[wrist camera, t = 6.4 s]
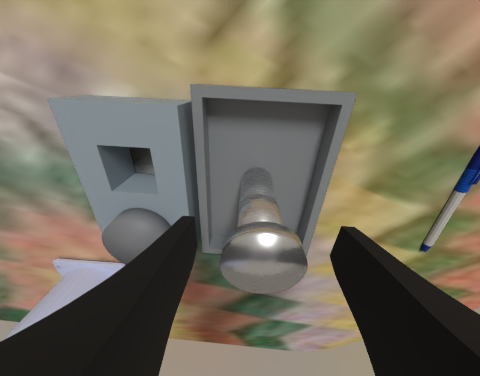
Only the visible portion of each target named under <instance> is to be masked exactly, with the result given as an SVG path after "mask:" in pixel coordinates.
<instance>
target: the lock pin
mask: <svg viewBox="0 0 480 376" xmlns="http://www.w3.org/2000/svg"><path fill="white" fill-rule="evenodd" d="M220 269H221V272H222V274H223V276H224V278H225V279H226V280H227V281H228V282H229V283H230V284H232V285H233V286H235V287H236V288H238V289H241V290H243V291H247V292H251V293H258V294H270V293H276V292H280V291H284V290H286V289H289V288H291V287H292V286H294V285H295V284H297V283H298V282H299V281H300V280H301V279H302V278H303V276H304V275H305V273H306V270H307V258H306V255H305V252H304V249H303V246H302V243H301V241H300V239H299V237H298V236H297V235H296V233H294V232H293V231H292V230H291V229H289V228H288V227H286V226H283V223H282V219H281V214H280V210H279V206H278V202H277V198H276V193H275V189H274V185H273V181H272V177H271V175H270V173H269V172H268V171H267V170H265V169H263V168H258V167H256V168H251V169H249V170H247V171H246V172H245V173H244V174H243V176H242V179H241V190H240V202H239V214H238V226H237V228H236V229H235V230H233V231H232V232H231V233H230V234H229V235H228V236H227V238H226V239H225V241H224V243H223V247H222V253H221V260H220Z"/></svg>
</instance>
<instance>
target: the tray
mask: <svg viewBox="0 0 480 376" xmlns="http://www.w3.org/2000/svg"><path fill="white" fill-rule="evenodd" d="M190 87H191V101H192V115H193V129H194V142H195V156H196V170H197V184H198V198H199V212H200V225H201V239H202V253H214V254H221V253H222V247H223V243H224V241H225V239H226V238H227V236H228V235H229V234H230V233H231V232H232V231H233V230H235V229H236V228H237V226H238V214H239V202H240V190H241V179H242V176H243V174H244V173H245V172H246V171H247V170H249V169H251V168H256V167H258V168H263V169H265V170H267V171H268V172H269V173H270V175H271V177H272V181H273V185H274V189H275V193H276V198H277V202H278V206H279V210H280V214H281V219H282V223H283V226H286V227H288V228H289V229H291V230H292V231H293V232H294V233H296V235H297V236H298V237H299V239H300V241H301V243H302V246H303V249H304V252H305V255H306V256H307V253H308V249H309V246H310V243H311V240H312V237H313V233H314V230H315V227H316V224H317V220H318V217H319V214H320V211H321V208H322V204H323V201H324V198H325V195H326V192H327V188H328V185H329V182H330V179H331V176H332V172H333V169H334V166H335V163H336V160H337V156H338V153H339V150H340V147H341V144H342V140H343V137H344V134H345V131H346V127H347V124H348V121H349V118H350V115H351V111H352V108H353V105H354V102H355V99H356V95H357V93H349V92H337V91H318V90H299V89H280V88H262V87H243V86H224V85H205V84H190Z"/></svg>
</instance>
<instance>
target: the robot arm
mask: <svg viewBox="0 0 480 376" xmlns="http://www.w3.org/2000/svg"><path fill="white" fill-rule="evenodd" d="M196 251H197V235H196V224H195V216H182V217H181V218H179V219H178V220H177V221H176V222H175V223H174V224H173V225H172V226H171V227H170V228H169V229H168V230H167V231H165V232H164V233H163V234H162V235H161V236H160V237H159V238H158V239H157V240H155V241H154V242H153V243H152V244H151V245H150V246H149V247H148V248H146V249H145V250H144V251H143V252H141V253H140V254H139V255H138V256H137V257H135V258H134V259H133V260H132V261H130V262H129V263H128V264H126V265H125V264H124V263H114V262H101V261H87V260H73V259H55V260H54V261H53V264H54V266H55V268H56V269H57V271H58V272H59V274H60V275H61V277H62V279H61V280H60V281H59V282H58V283H57V284H56V285H55V286H54V287H53V288H52V289H51V290H50V291H49V292H48V293H47V294H46V295H45V296H44V297H43V299H42V300H41V301H40V302H39V303H38V304H37V305H36V306H35V307H34V308H33V309H32V310H31V311H30V312H29V313H28V314H27V315H26V316H25V317H24V318H23V319H22V320H21V321H20V322H19V324H18V325H17V326H16V327H15V328H14V329H13V330H12V331H11V332H10V333H9V334H8V335H7V336H6V337H5V338H4V339H3V340H2V341H1V342H0V376H158V375H159V371H160V367H161V364H162V360H163V356H164V352H165V348H166V344H167V341H168V337H169V334H170V330H171V326H172V323H173V320H174V317H175V314H176V311H177V308H178V305H179V303H180V300H181V297H182V294H183V292H184V289H185V286H186V284H187V281H188V278H189V275H190V272H191V270H192V267H193V263H194V259H195V255H196ZM330 258H331V262H332V265H333V269H334V272H335V275H336V278H337V280H338V282H339V285H340V287H341V289H342V292H343V294H344V296H345V298H346V301H347V303H348V305H349V307H350V310H351V312H352V314H353V316H354V319H355V321H356V323H357V325H358V328H359V330H360V333H361V335H362V338H363V340H364V343H365V346H366V349H367V352H368V355H369V358H370V361H371V364H372V367H373V370H374V373H375V376H480V315H479V314H478V313H476V312H475V311H473V310H471V309H470V308H468V307H467V306H465V305H463V304H462V303H460V302H459V301H457V300H455V299H454V298H452V297H451V296H449V295H448V294H446V293H445V292H443V291H442V290H440V289H439V288H437V287H436V286H434V285H433V284H431V283H430V282H428V281H427V280H425V279H424V278H423V277H421V276H420V275H418V274H417V273H415V272H414V271H413V270H411V269H410V268H409V267H407V266H406V265H404V264H403V263H402V262H400V261H399V260H398V259H396V258H395V257H394V256H392V255H391V254H390V253H388V252H387V251H386V250H384V249H383V248H382V247H381V246H379V245H378V244H377V243H375V242H374V241H373V240H371V239H370V238H369V237H367V236H366V235H365V234H363V233H362V232H361V231H359V230H358V229H356V228H355V227H345V226H341V229H340V231H339V234H338V236H337V239H336V241H335V244H334V246H333V249H332V251H331V254H330Z"/></svg>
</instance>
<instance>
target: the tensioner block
mask: <svg viewBox="0 0 480 376" xmlns="http://www.w3.org/2000/svg"><path fill="white" fill-rule="evenodd" d="M47 100H48V103H49V105H50V108H51V110H52V113H53V115H54V117H55V120H56V122H57V125H58V127H59V130H60V132H61V134H62V137H63V139H64V142H65V144H66V147H67V149H68V152H69V154H70V156H71V159H72V161H73V164H74V166H75V169H76V171H77V173H78V176H79V178H80V181H81V183H82V186H83V188H84V191H85V193H86V195H87V198H88V200H89V203H90V205H91V208H92V210H93V212H94V215H95V217H96V220H97V222H98V225H99V227H100V229H101V232H102V241H103V244H104V246H105V248H106V249H107V251H108V252H109V253H110V254H111V256H113V257H115V258H116V259H118V260H119V261H121V262H123V263H125V264H128V263H129V262H130V261H132V260H133V259H134V258H135V257H137V256H138V255H139V254H140V253H141V252H143V251H144V250H145V249H146V248H148V247H149V246H150V245H151V244H152V243H153V242H154V241H155V240H157V239H158V238H159V237H160V236H161V235H162V234H163V233H164V232H165V231H167V230H168V229H169V228H170V227H171V226H172V225H173V224H174V223H175V222H176V221H177V220H178V219H179V218H181V217H182V216H195V224H196V235H197V250H198V247H199V244H200V241H201V225H200V212H199V198H198V184H197V170H196V156H195V142H194V129H193V115H192V101H184V100H166V99H147V98H129V97H111V96H93V95H86V96H73V97H61V98H48V99H47ZM129 147H138V148H150V151H151V157H152V162H153V167H154V172H155V174H143V173H135V169H134V165H133V161H132V157H131V153H130V149H129ZM196 253H197V251H196ZM195 256H196V255H195ZM194 260H195V259H194Z"/></svg>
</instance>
